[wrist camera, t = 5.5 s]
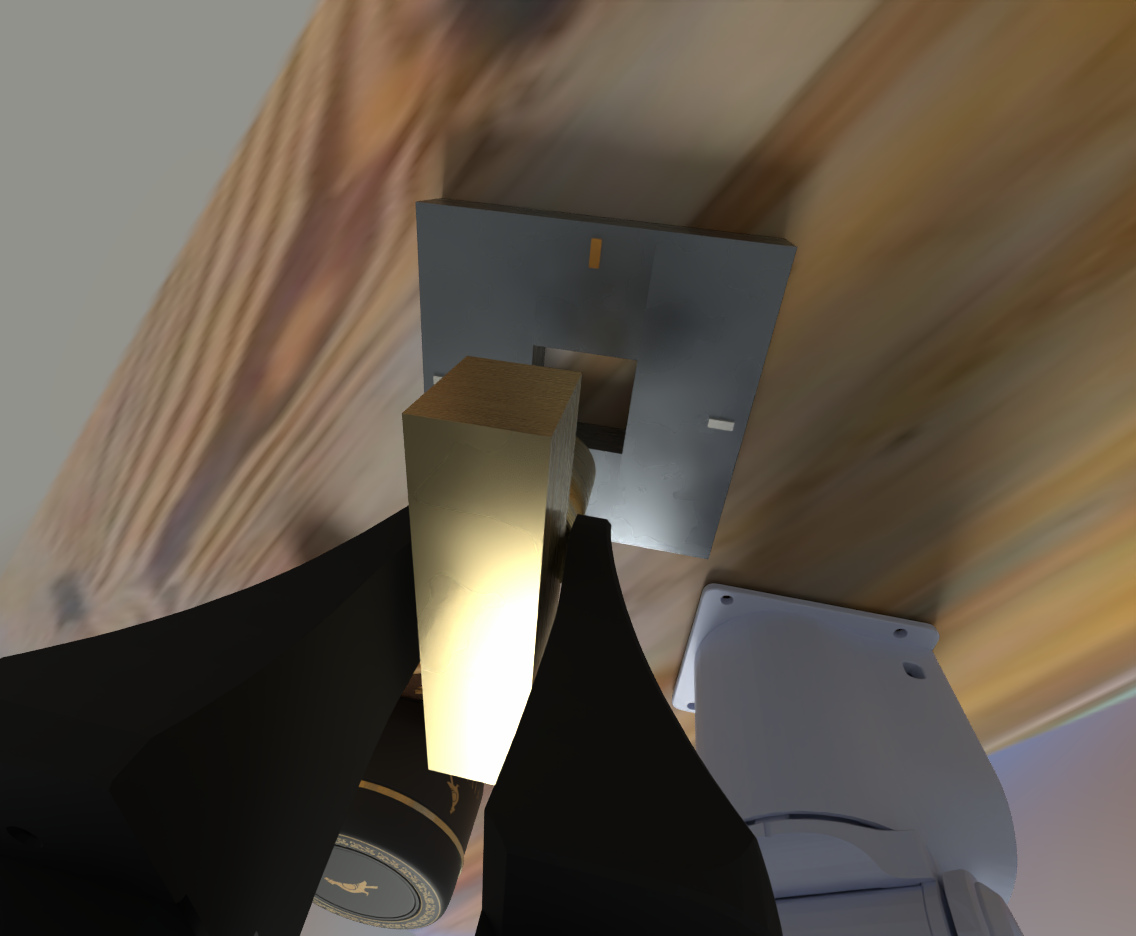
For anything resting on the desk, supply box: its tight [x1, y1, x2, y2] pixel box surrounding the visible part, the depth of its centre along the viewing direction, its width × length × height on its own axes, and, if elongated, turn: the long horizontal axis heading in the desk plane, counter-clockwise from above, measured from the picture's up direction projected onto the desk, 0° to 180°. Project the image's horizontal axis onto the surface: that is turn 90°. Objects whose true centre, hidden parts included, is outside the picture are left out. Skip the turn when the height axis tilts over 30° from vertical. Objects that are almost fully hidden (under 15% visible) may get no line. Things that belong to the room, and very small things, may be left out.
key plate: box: [416, 198, 797, 559], centre depth 19 cm, size 11×11×2 cm
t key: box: [402, 356, 596, 785], centre depth 12 cm, size 8×2×6 cm, turn 176°
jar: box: [312, 697, 484, 929], centre depth 30 cm, size 10×10×8 cm
